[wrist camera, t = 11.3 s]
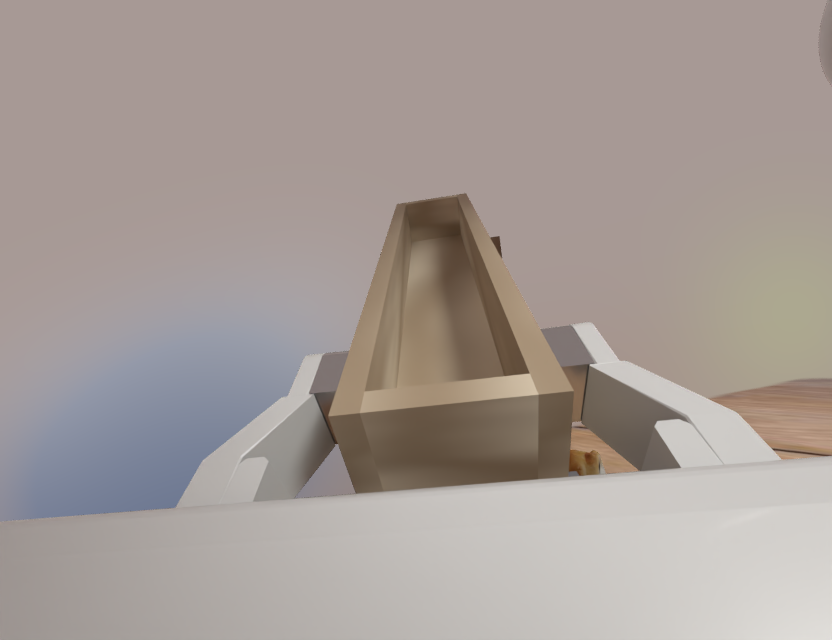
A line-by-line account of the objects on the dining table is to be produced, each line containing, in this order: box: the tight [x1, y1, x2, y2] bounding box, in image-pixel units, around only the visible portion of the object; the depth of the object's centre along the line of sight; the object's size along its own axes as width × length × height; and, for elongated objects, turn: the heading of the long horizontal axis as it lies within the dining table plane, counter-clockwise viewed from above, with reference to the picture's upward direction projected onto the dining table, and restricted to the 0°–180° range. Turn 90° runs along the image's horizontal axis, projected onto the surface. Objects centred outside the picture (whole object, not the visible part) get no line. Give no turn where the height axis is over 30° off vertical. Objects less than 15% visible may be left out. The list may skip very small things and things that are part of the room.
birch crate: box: [328, 194, 574, 494], centre depth 16 cm, size 4×19×3 cm, turn 175°
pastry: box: [569, 450, 606, 476], centre depth 41 cm, size 9×7×4 cm
